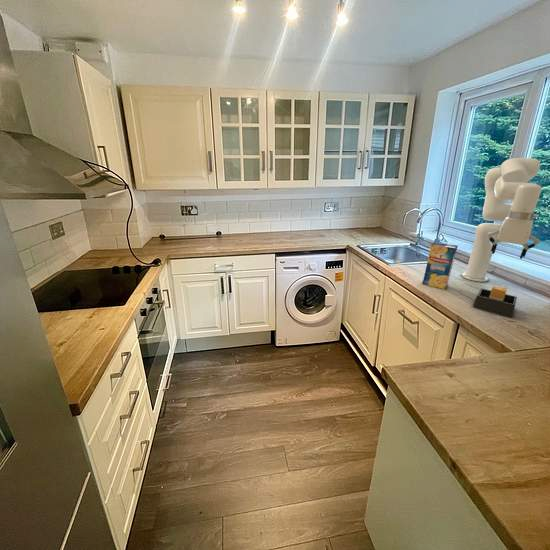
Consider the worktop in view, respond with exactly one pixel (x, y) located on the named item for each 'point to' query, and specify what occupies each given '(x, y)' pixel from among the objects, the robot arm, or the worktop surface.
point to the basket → (495, 303)
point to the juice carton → (498, 293)
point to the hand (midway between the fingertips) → (506, 255)
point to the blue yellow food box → (439, 264)
